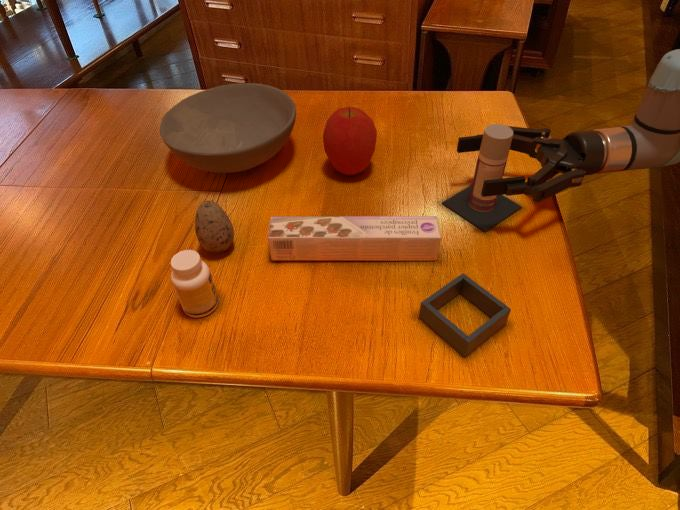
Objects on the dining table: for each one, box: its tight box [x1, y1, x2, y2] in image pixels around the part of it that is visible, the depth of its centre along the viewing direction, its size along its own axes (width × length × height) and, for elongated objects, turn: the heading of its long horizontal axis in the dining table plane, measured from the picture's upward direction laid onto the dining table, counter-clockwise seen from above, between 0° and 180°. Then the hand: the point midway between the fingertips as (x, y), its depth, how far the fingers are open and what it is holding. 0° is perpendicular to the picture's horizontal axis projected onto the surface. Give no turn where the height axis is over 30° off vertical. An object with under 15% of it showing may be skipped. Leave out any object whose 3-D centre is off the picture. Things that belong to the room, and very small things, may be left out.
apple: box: [322, 105, 378, 176], centre depth 92 cm, size 10×10×14 cm
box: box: [267, 215, 442, 261], centre depth 79 cm, size 27×5×6 cm, turn 89°
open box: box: [418, 272, 512, 358], centre depth 69 cm, size 9×9×4 cm
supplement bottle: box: [170, 249, 219, 318], centre depth 70 cm, size 5×5×10 cm
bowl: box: [159, 82, 297, 174], centre depth 97 cm, size 26×26×10 cm
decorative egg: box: [194, 200, 235, 254], centre depth 78 cm, size 6×6×10 cm
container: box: [469, 123, 513, 213], centre depth 82 cm, size 5×5×15 cm
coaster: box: [441, 184, 523, 233], centre depth 88 cm, size 10×10×1 cm
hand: (469, 165), depth 81 cm, fingers open, 12 cm apart
